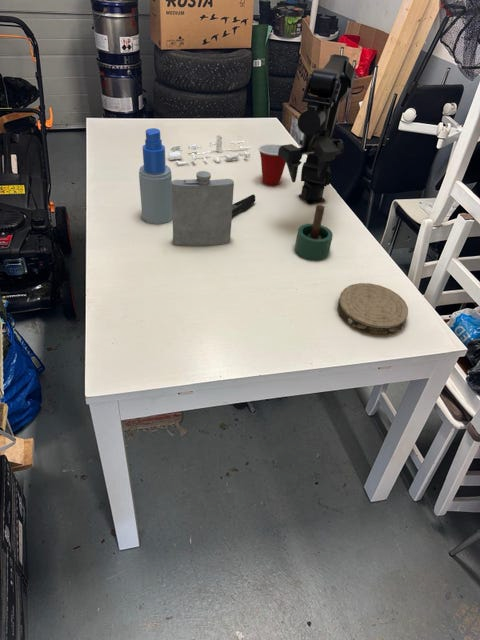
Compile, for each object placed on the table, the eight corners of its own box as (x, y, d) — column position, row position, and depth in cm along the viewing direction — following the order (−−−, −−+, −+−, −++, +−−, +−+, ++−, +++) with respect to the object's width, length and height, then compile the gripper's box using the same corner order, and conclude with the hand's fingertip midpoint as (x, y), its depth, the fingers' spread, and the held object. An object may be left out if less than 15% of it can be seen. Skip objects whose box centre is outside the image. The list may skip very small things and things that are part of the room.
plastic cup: (276, 173, 166) (281, 140, 158) (291, 186, 158) (297, 152, 151) (249, 177, 162) (252, 143, 154) (264, 190, 155) (268, 155, 147)
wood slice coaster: (416, 332, 105) (421, 323, 103) (352, 339, 102) (355, 329, 100) (386, 290, 117) (389, 280, 115) (327, 295, 113) (329, 285, 111)
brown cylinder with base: (308, 244, 130) (316, 201, 121) (321, 249, 128) (330, 206, 120) (302, 250, 127) (310, 207, 119) (314, 255, 126) (323, 212, 117)
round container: (315, 239, 133) (318, 220, 129) (335, 256, 127) (339, 237, 123) (288, 246, 129) (291, 227, 125) (307, 263, 123) (311, 244, 119)
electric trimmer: (258, 205, 147) (259, 195, 145) (227, 221, 137) (228, 212, 135) (248, 201, 149) (249, 192, 146) (218, 217, 139) (218, 207, 137)
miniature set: (247, 146, 181) (257, 163, 174) (159, 156, 172) (167, 175, 165) (248, 130, 176) (259, 147, 169) (158, 141, 167) (165, 159, 160)
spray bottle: (153, 206, 141) (148, 122, 125) (178, 214, 138) (176, 129, 122) (136, 218, 135) (128, 131, 118) (162, 227, 132) (158, 139, 116)
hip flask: (229, 237, 131) (233, 169, 117) (231, 244, 128) (236, 176, 115) (172, 239, 128) (170, 170, 114) (174, 247, 125) (172, 177, 111)
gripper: (305, 137, 113) (295, 196, 124) (362, 130, 121) (349, 186, 131) (280, 123, 120) (273, 180, 131) (336, 116, 128) (325, 171, 138)
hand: (306, 179), depth 133 cm, fingers open, 9 cm apart
